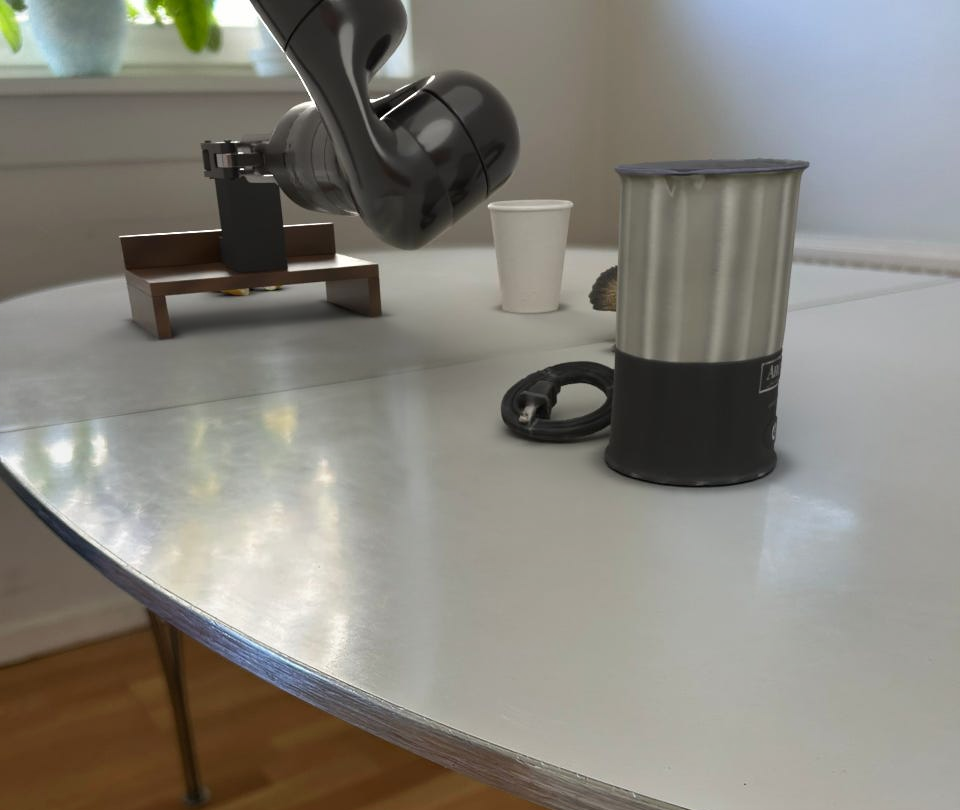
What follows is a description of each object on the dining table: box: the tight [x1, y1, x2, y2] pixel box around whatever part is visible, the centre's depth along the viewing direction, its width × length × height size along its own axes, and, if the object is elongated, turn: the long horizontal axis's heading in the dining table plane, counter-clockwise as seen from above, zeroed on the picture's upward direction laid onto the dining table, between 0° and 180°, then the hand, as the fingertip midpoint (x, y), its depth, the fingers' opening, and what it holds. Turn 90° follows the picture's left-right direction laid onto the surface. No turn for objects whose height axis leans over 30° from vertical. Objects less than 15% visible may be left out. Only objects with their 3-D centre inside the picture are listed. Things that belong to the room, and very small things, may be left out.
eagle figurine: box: [587, 264, 618, 353], centre depth 82 cm, size 8×7×9 cm
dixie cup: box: [487, 199, 574, 314], centre depth 99 cm, size 8×8×10 cm
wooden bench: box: [118, 222, 383, 341], centre depth 99 cm, size 22×13×8 cm, turn 117°
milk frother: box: [500, 157, 811, 487], centre depth 53 cm, size 14×16×15 cm
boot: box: [214, 167, 288, 273], centre depth 96 cm, size 9×5×9 cm, turn 27°
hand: (272, 156), depth 84 cm, fingers open, 8 cm apart
